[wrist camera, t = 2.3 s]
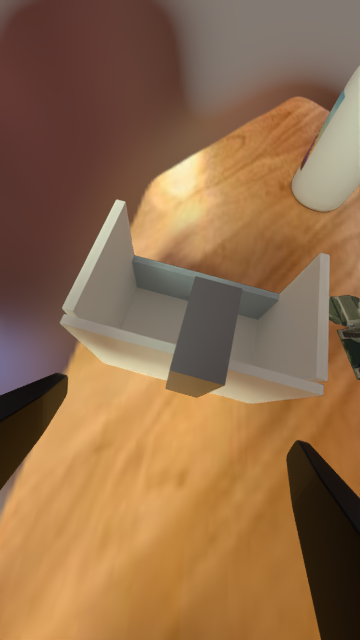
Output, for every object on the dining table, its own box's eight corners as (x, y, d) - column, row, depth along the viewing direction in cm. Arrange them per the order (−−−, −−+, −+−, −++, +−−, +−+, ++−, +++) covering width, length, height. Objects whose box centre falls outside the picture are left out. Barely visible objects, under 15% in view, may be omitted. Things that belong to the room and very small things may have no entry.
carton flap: (246, 423, 20) (448, 447, 6) (97, 381, 20) (-42, 311, 6) (251, 388, 21) (430, 338, 7) (109, 348, 21) (15, 227, 7)
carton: (248, 396, 22) (327, 380, 12) (107, 357, 23) (61, 308, 12) (258, 321, 25) (329, 255, 15) (134, 287, 26) (116, 199, 15)
